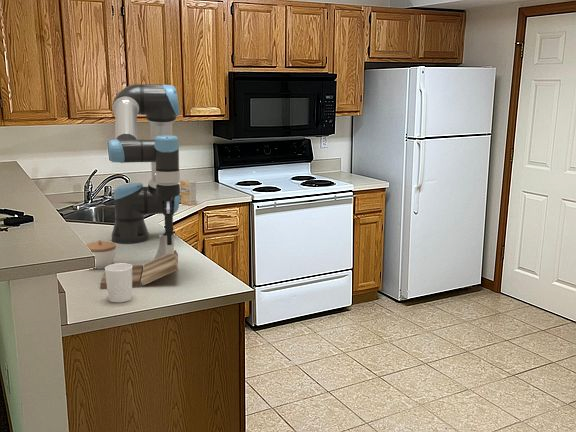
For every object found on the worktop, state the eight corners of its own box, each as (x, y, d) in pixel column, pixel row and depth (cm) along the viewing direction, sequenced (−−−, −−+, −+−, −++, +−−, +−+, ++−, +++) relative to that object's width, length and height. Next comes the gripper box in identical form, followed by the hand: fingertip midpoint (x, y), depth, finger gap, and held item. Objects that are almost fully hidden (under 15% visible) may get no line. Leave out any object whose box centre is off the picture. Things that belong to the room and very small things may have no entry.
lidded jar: (115, 260, 215) (114, 236, 213) (118, 269, 205) (117, 243, 203) (84, 263, 211) (83, 238, 209) (86, 271, 201) (84, 245, 199)
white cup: (101, 298, 176) (100, 266, 174) (125, 292, 181) (123, 261, 179) (114, 305, 170) (113, 272, 168) (138, 299, 176) (137, 267, 174)
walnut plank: (107, 271, 202) (107, 266, 201) (143, 270, 204) (143, 264, 203) (100, 288, 184) (100, 282, 184) (139, 287, 186) (139, 281, 186)
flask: (165, 257, 219) (165, 232, 217) (178, 261, 215) (177, 235, 213) (150, 261, 214) (149, 235, 212) (163, 265, 209) (162, 238, 207)
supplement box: (180, 203, 323) (179, 180, 320) (186, 202, 327) (186, 179, 324) (190, 205, 318) (189, 182, 315) (196, 204, 322) (196, 181, 319)
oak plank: (146, 268, 204) (144, 264, 203) (178, 254, 205) (175, 249, 204) (143, 285, 186) (140, 280, 186) (177, 269, 187) (175, 264, 187)
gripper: (156, 180, 196) (159, 248, 200) (155, 186, 183) (157, 259, 188) (179, 180, 197) (181, 248, 202) (179, 186, 184) (181, 258, 189)
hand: (169, 253), depth 195 cm, fingers closed
